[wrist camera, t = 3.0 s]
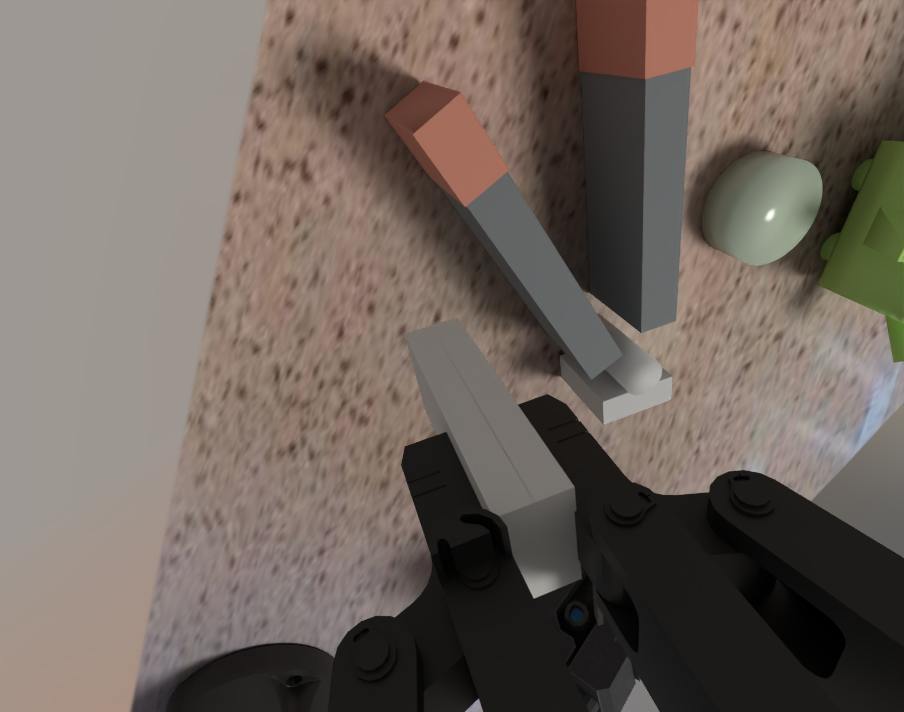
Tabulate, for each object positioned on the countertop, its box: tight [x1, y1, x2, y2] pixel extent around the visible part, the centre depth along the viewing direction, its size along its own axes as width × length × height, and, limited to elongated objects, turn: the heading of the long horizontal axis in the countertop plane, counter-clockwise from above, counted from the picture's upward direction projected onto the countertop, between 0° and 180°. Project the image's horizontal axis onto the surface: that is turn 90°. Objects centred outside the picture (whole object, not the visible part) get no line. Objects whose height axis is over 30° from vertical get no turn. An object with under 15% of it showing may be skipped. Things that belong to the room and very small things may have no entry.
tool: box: [534, 565, 640, 712], centre depth 46 cm, size 6×19×15 cm, turn 106°
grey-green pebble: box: [701, 151, 823, 265], centre depth 36 cm, size 7×7×3 cm
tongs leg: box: [384, 81, 623, 380], centre depth 30 cm, size 18×3×6 cm, turn 36°
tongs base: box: [560, 0, 699, 425], centre depth 31 cm, size 24×5×7 cm, turn 11°
